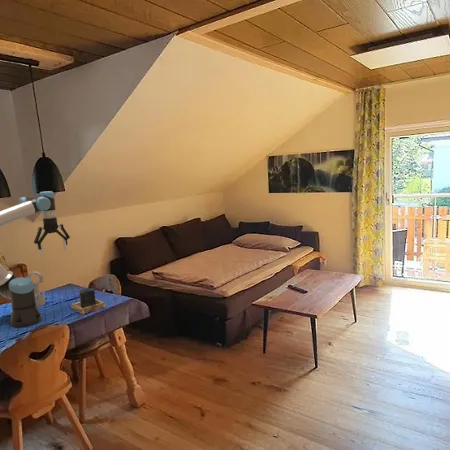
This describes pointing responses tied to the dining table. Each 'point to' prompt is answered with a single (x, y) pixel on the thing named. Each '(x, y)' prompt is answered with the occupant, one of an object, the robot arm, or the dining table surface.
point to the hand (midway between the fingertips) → (53, 252)
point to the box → (87, 297)
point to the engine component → (39, 298)
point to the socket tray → (81, 310)
